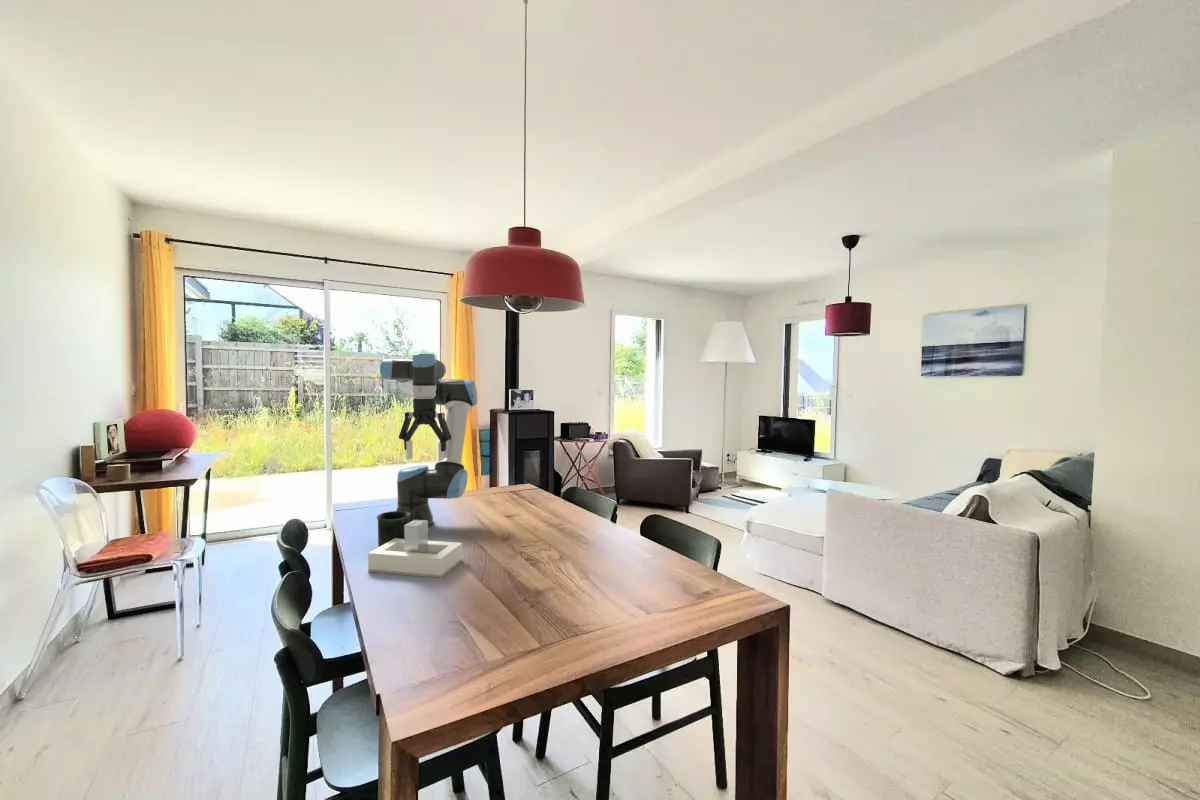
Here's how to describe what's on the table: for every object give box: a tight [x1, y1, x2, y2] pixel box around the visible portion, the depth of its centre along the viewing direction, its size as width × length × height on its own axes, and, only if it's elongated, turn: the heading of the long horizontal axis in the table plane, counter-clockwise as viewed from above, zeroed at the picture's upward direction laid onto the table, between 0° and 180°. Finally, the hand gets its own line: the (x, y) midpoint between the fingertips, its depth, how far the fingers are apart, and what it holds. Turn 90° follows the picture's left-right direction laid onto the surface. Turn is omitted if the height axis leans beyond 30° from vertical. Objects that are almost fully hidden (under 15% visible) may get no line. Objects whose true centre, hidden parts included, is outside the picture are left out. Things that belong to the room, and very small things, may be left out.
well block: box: [367, 538, 463, 579], centre depth 155 cm, size 14×24×6 cm, turn 80°
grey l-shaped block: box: [404, 520, 429, 554], centre depth 154 cm, size 6×10×13 cm, turn 80°
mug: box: [376, 510, 411, 548], centre depth 170 cm, size 11×15×12 cm
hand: (425, 459), depth 172 cm, fingers open, 11 cm apart
